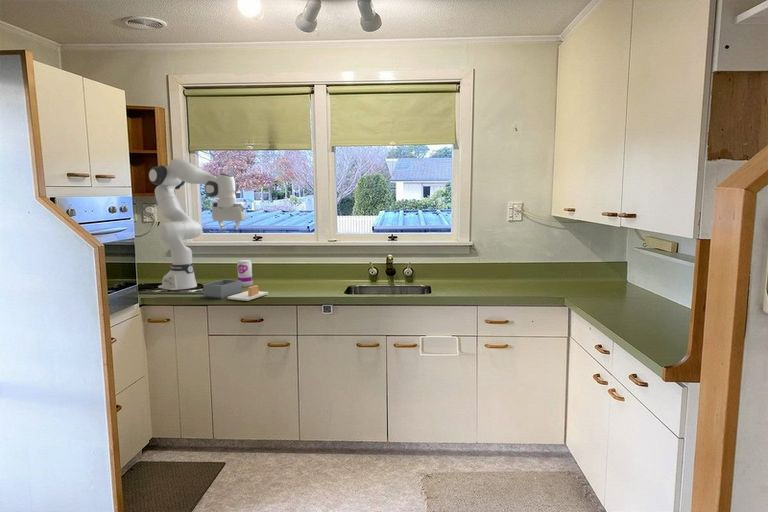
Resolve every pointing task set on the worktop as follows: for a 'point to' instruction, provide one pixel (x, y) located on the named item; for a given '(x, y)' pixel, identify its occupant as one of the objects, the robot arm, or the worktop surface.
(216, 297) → the tub
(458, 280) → the worktop surface
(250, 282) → the supplement can
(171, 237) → the robot arm
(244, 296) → the lid
